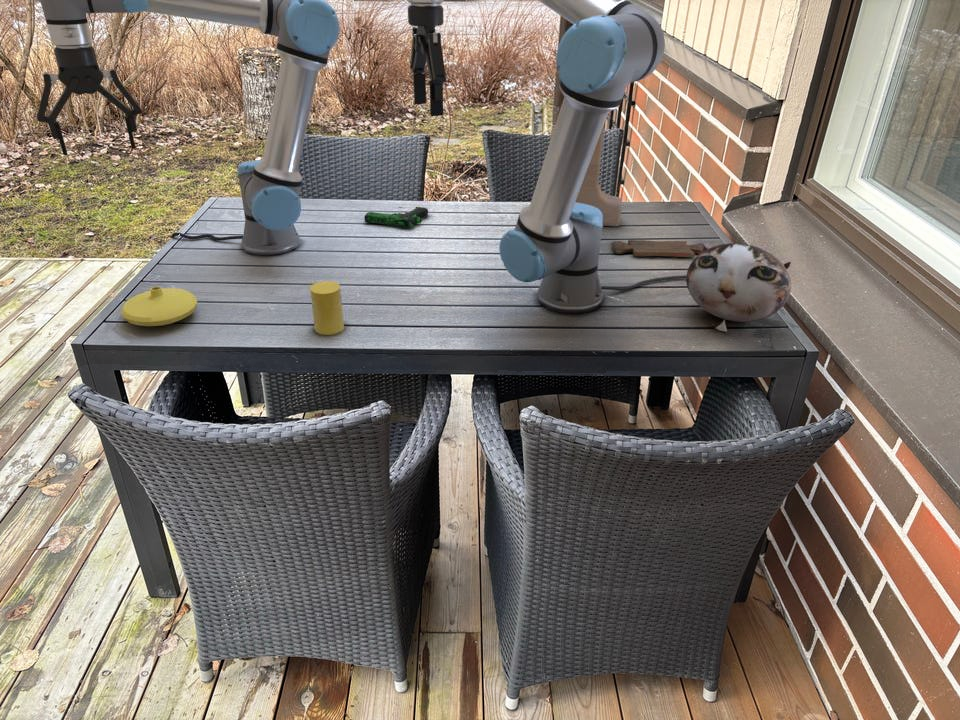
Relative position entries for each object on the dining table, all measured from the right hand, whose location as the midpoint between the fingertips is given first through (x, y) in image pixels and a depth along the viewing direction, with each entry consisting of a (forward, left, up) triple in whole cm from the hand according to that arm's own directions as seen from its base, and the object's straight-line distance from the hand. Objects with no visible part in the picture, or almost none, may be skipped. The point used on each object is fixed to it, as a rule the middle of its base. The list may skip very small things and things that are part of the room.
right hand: (428, 109), depth 161 cm
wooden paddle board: (-64, 0, -40) cm, 76 cm away
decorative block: (-56, -26, -40) cm, 74 cm away
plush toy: (-60, +40, -40) cm, 83 cm away
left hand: (+71, -12, -8) cm, 73 cm away
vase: (+63, +8, -40) cm, 76 cm away
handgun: (+1, -42, -40) cm, 58 cm away
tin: (+28, +22, -40) cm, 54 cm away
